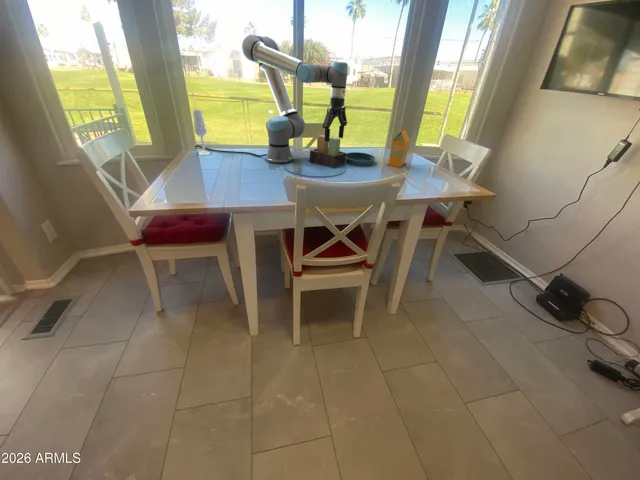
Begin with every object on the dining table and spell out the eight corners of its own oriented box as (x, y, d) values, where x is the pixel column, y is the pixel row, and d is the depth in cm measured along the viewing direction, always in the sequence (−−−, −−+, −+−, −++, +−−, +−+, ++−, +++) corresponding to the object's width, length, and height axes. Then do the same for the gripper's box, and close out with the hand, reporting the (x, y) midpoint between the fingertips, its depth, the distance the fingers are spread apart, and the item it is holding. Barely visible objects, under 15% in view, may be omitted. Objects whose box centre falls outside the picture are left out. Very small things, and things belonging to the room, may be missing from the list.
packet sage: (327, 162, 160) (329, 138, 152) (331, 161, 163) (333, 137, 155) (334, 164, 157) (336, 139, 150) (338, 163, 160) (340, 138, 153)
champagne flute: (208, 155, 163) (200, 111, 150) (196, 154, 163) (188, 110, 150) (212, 152, 168) (205, 109, 155) (201, 151, 168) (193, 109, 155)
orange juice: (404, 164, 167) (412, 130, 156) (400, 167, 161) (407, 132, 150) (392, 161, 170) (399, 128, 160) (387, 165, 164) (394, 130, 153)
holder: (309, 161, 163) (310, 150, 159) (321, 157, 171) (322, 146, 167) (333, 168, 154) (334, 156, 150) (344, 163, 162) (345, 152, 158)
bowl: (337, 162, 164) (337, 156, 162) (353, 156, 177) (354, 150, 175) (364, 169, 155) (365, 163, 153) (379, 162, 168) (380, 156, 166)
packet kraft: (316, 159, 164) (317, 135, 156) (321, 158, 167) (322, 134, 159) (323, 161, 161) (324, 137, 154) (327, 160, 164) (329, 136, 157)
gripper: (329, 99, 131) (326, 144, 143) (356, 97, 148) (351, 137, 160) (317, 97, 135) (314, 141, 146) (344, 95, 152) (340, 135, 163)
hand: (333, 139), depth 153 cm, fingers open, 13 cm apart
